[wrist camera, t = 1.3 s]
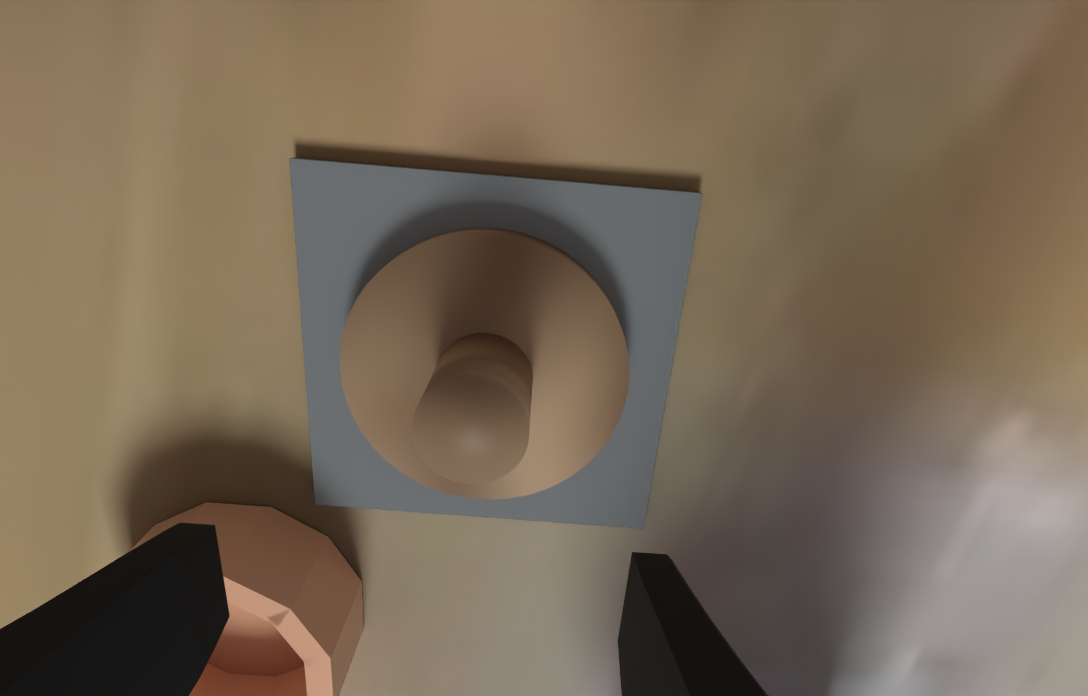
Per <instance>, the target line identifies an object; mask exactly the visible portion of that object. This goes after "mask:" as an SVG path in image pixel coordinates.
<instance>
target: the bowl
mask: <svg viewBox="0 0 1088 696" xmlns="http://www.w3.org/2000/svg"><path fill="white" fill-rule="evenodd" d="M178 523H194V524H209V525H215V528H216V534H217V540H218V546H219V553H220V559H221V565H222V571H223V577H224V584H225V590H226V596H227V602H228V609H229V615H230V617H229V619H228V621H227V623H226V625H225V627H224V630H223V632H222V634H221V636H220V638H219V640H218V643H217V645H216V647H215V649H214V651H213V653H212V655H211V657H210V659H209V661H208V663H207V665H206V667H205V669H204V671H203V673H202V675H201V677H200V679H199V680H198V682H197V683H196V685H195V687H194V688H193V690H192V692H191V693H190V695H189V696H339V693H340V691H341V688H342V685H343V683H344V680H345V677H346V674H347V672H348V669H349V666H350V664H351V661H352V658H353V655H354V653H355V650H356V647H357V645H358V642H359V639H360V636H361V634H362V631H363V628H364V621H363V597H362V581H361V580H360V578H359V577H358V576H357V574H356V573H355V572H354V570H353V569H352V568H351V566H350V565H349V564H348V562H347V561H346V560H345V558H344V557H343V556H342V554H341V553H340V552H339V550H338V549H337V547H336V546H335V545H334V543H333V542H332V541H331V539H330V538H329V537H328V536H326V535H324V534H322V533H320V532H318V531H316V530H314V529H313V528H311V527H309V526H307V525H305V524H303V523H301V522H299V521H297V520H295V519H293V518H291V517H290V516H288V515H286V514H284V513H282V512H280V511H278V510H276V509H274V508H272V507H265V506H252V505H238V504H224V503H210V502H206V503H204V504H201V505H199V506H197V507H194V508H192V509H190V510H188V511H185V512H183V513H181V514H178V515H176V516H174V517H172V518H169V519H167V520H165V521H162V522H160V523H158V524H155V525H154V526H153V527H152V528H151V529H150V530H149V531H148V532H147V533H146V535H145V536H144V537H143V538H142V539H141V540H140V541H139V542H138V543H137V544H136V545H135V546H134V547H133V548H132V549H131V550H133V549H135V548H136V547H138V546H140V545H141V544H143V543H145V542H146V541H148V540H150V539H151V538H153V537H155V536H156V535H158V534H160V533H162V532H163V531H165V530H167V529H169V528H170V527H172V526H174V525H176V524H178ZM131 550H130V551H131ZM130 551H129V552H130Z"/></svg>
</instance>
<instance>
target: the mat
mask: <svg viewBox="0 0 1088 696" xmlns="http://www.w3.org/2000/svg"><path fill="white" fill-rule="evenodd" d="M289 160H290V173H291V187H292V200H293V214H294V227H295V241H296V254H297V268H298V281H299V295H300V308H301V322H302V335H303V349H304V362H305V376H306V389H307V403H308V416H309V430H310V443H311V457H312V470H313V484H314V497H315V505H325V506H339V507H352V508H366V509H380V510H394V511H407V512H421V513H435V514H449V515H462V516H476V517H490V518H504V519H517V520H531V521H545V522H558V523H572V524H586V525H600V526H613V527H627V528H641V529H643V528H644V523H645V517H646V511H647V506H648V500H649V494H650V489H651V483H652V477H653V472H654V466H655V460H656V454H657V449H658V443H659V437H660V432H661V426H662V420H663V415H664V409H665V403H666V398H667V392H668V386H669V380H670V375H671V369H672V363H673V358H674V352H675V346H676V341H677V335H678V329H679V323H680V318H681V312H682V306H683V301H684V295H685V289H686V284H687V278H688V272H689V267H690V261H691V255H692V249H693V244H694V238H695V232H696V227H697V221H698V215H699V210H700V204H701V198H702V193H700V192H692V191H681V190H669V189H657V188H646V187H634V186H622V185H610V184H599V183H587V182H575V181H564V180H552V179H540V178H529V177H517V176H505V175H493V174H482V173H470V172H458V171H447V170H435V169H423V168H412V167H400V166H388V165H376V164H365V163H353V162H341V161H330V160H318V159H306V158H289ZM467 228H498V229H505V230H512V231H516V232H520V233H523V234H527V235H530V236H534V237H536V238H538V239H541V240H543V241H545V242H548V243H550V244H552V245H553V246H555V247H557V248H558V249H560V250H562V251H563V252H565V253H567V254H568V255H569V256H571V257H572V258H573V259H575V260H576V261H577V262H578V263H580V264H581V265H582V266H583V267H584V268H585V269H586V270H587V271H588V272H589V273H590V274H591V275H592V276H593V277H594V278H595V279H596V281H597V282H598V284H599V285H600V286H601V288H602V289H603V290H604V292H605V293H606V295H607V297H608V298H609V300H610V302H611V304H612V306H613V308H614V310H615V312H616V315H617V318H618V320H619V323H620V326H621V328H622V331H623V334H624V337H625V341H626V346H627V351H628V358H629V371H630V372H629V386H628V393H627V397H626V402H625V406H624V409H623V412H622V414H621V417H620V420H619V422H618V424H617V426H616V428H615V430H614V431H613V433H612V435H611V437H610V438H609V440H608V441H607V442H606V444H605V445H604V447H603V448H602V449H601V451H600V452H599V453H598V454H597V455H596V456H595V457H594V458H593V459H592V460H591V461H590V462H589V463H588V464H587V465H585V466H584V467H583V468H582V469H580V470H579V471H578V472H577V473H575V474H574V475H572V476H571V477H569V478H567V479H566V480H564V481H563V482H561V483H558V484H556V485H554V486H552V487H550V488H548V489H545V490H542V491H539V492H536V493H533V494H530V495H525V496H520V497H516V498H508V499H497V500H493V499H473V498H465V497H459V496H455V495H451V494H447V493H443V492H441V491H438V490H435V489H432V488H429V487H427V486H425V485H423V484H421V483H419V482H417V481H415V480H413V479H411V478H410V477H408V476H407V475H405V474H403V473H402V472H400V471H399V470H397V469H396V468H395V467H394V466H392V465H391V464H390V463H389V462H387V461H386V460H385V459H384V458H383V457H382V456H381V455H380V454H379V453H378V452H377V451H376V450H375V449H374V448H373V447H372V446H371V444H370V443H369V442H368V440H367V439H366V438H365V436H364V435H363V434H362V432H361V431H360V429H359V427H358V425H357V424H356V422H355V420H354V418H353V416H352V414H351V412H350V409H349V407H348V404H347V402H346V399H345V395H344V391H343V387H342V382H341V374H340V347H341V341H342V335H343V330H344V327H345V324H346V321H347V318H348V315H349V313H350V311H351V309H352V307H353V305H354V303H355V301H356V299H357V298H358V296H359V295H360V293H361V292H362V290H363V289H364V287H365V286H366V285H367V283H368V282H369V281H370V280H371V279H372V278H373V277H374V276H375V275H376V274H377V273H378V272H379V271H380V270H381V269H382V268H383V267H384V266H385V265H387V264H388V263H389V262H390V261H392V260H393V259H394V258H395V257H397V256H398V255H399V254H400V253H402V252H403V251H405V250H406V249H408V248H410V247H411V246H413V245H415V244H417V243H418V242H420V241H423V240H425V239H428V238H430V237H432V236H435V235H438V234H442V233H445V232H449V231H453V230H459V229H467Z"/></svg>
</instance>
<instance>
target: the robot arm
mask: <svg viewBox="0 0 1088 696" xmlns="http://www.w3.org/2000/svg"><path fill="white" fill-rule="evenodd" d="M229 617H230V615H229V609H228V602H227V596H226V590H225V584H224V577H223V571H222V565H221V559H220V553H219V546H218V540H217V534H216V528H215V525H209V524H194V523H178V524H176V525H174V526H172V527H170V528H169V529H167V530H165V531H163V532H162V533H160V534H158V535H156V536H155V537H153V538H151V539H150V540H148V541H146V542H145V543H143V544H141V545H140V546H138V547H136V548H135V549H133V550H131V551H130V552H128V553H127V554H125V555H123V556H122V557H120V558H118V559H117V560H115V561H114V562H112V563H110V564H109V565H107V566H105V567H104V568H102V569H101V570H99V571H97V572H96V573H94V574H92V575H91V576H89V577H87V578H86V579H84V580H82V581H81V582H79V583H78V584H76V585H74V586H73V587H71V588H69V589H68V590H66V591H64V592H63V593H61V594H59V595H58V596H56V597H54V598H53V599H51V600H50V601H48V602H46V603H45V604H43V605H41V606H40V607H38V608H36V609H35V610H33V611H31V612H29V613H28V614H26V615H24V616H22V617H21V618H19V619H17V620H15V621H14V622H12V623H10V624H8V625H7V626H5V627H3V628H1V629H0V696H189V695H190V693H191V692H192V690H193V688H194V687H195V685H196V683H197V682H198V680H199V679H200V677H201V675H202V673H203V671H204V669H205V667H206V665H207V663H208V661H209V659H210V657H211V655H212V653H213V651H214V649H215V647H216V645H217V643H218V640H219V638H220V636H221V634H222V632H223V630H224V627H225V625H226V623H227V621H228V619H229ZM618 648H619V663H620V677H621V689H622V696H768V695H767V694H766V692H765V691H764V690H763V689H762V688H761V686H760V685H759V684H758V682H757V681H756V680H755V678H754V677H753V676H752V675H751V673H750V672H749V671H748V669H747V668H746V667H745V665H744V664H743V663H742V661H741V660H740V659H739V657H738V656H737V655H736V653H735V652H734V651H733V649H732V648H731V646H730V645H729V644H728V642H727V641H726V640H725V638H724V637H723V636H722V634H721V633H720V631H719V630H718V629H717V627H716V626H715V624H714V623H713V622H712V620H711V619H710V617H709V616H708V614H707V613H706V611H705V610H704V608H703V607H702V605H701V604H700V603H699V601H698V600H697V598H696V597H695V595H694V594H693V592H692V591H691V589H690V587H689V586H688V584H687V583H686V581H685V580H684V578H683V577H682V575H681V574H680V572H679V570H678V569H677V567H676V566H675V564H674V563H673V561H672V560H671V559H670V557H669V556H668V555H667V554H652V553H636V552H632V556H631V562H630V569H629V575H628V581H627V587H626V594H625V600H624V606H623V612H622V618H621V625H620V631H619V637H618Z"/></svg>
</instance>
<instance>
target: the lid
mask: <svg viewBox="0 0 1088 696" xmlns="http://www.w3.org/2000/svg"><path fill="white" fill-rule="evenodd" d="M629 372H630V371H629V358H628V351H627V346H626V341H625V337H624V334H623V331H622V328H621V326H620V323H619V320H618V318H617V315H616V312H615V310H614V308H613V306H612V304H611V302H610V300H609V298H608V297H607V295H606V293H605V292H604V290H603V289H602V288H601V286H600V285H599V284H598V282H597V281H596V279H595V278H594V277H593V276H592V275H591V274H590V273H589V272H588V271H587V270H586V269H585V268H584V267H583V266H582V265H581V264H580V263H578V262H577V261H576V260H575V259H573V258H572V257H571V256H569V255H568V254H567V253H565V252H563V251H562V250H560V249H558V248H557V247H555V246H553V245H552V244H550V243H548V242H545V241H543V240H541V239H538V238H536V237H534V236H530V235H527V234H523V233H520V232H516V231H512V230H505V229H498V228H467V229H459V230H453V231H449V232H445V233H442V234H438V235H435V236H432V237H430V238H428V239H425V240H423V241H420V242H418V243H417V244H415V245H413V246H411V247H410V248H408V249H406V250H405V251H403V252H402V253H400V254H399V255H398V256H397V257H395V258H394V259H393V260H392V261H390V262H389V263H388V264H387V265H385V266H384V267H383V268H382V269H381V270H380V271H379V272H378V273H377V274H376V275H375V276H374V277H373V278H372V279H371V280H370V281H369V282H368V283H367V285H366V286H365V287H364V289H363V290H362V292H361V293H360V295H359V296H358V298H357V299H356V301H355V303H354V305H353V307H352V309H351V311H350V313H349V315H348V318H347V321H346V324H345V327H344V330H343V335H342V341H341V347H340V374H341V382H342V387H343V391H344V395H345V399H346V402H347V404H348V407H349V409H350V412H351V414H352V416H353V418H354V420H355V422H356V424H357V425H358V427H359V429H360V431H361V432H362V434H363V435H364V436H365V438H366V439H367V440H368V442H369V443H370V444H371V446H372V447H373V448H374V449H375V450H376V451H377V452H378V453H379V454H380V455H381V456H382V457H383V458H384V459H385V460H386V461H387V462H389V463H390V464H391V465H392V466H394V467H395V468H396V469H397V470H399V471H400V472H402V473H403V474H405V475H407V476H408V477H410V478H411V479H413V480H415V481H417V482H419V483H421V484H423V485H425V486H427V487H429V488H432V489H435V490H438V491H441V492H443V493H447V494H451V495H455V496H459V497H465V498H473V499H493V500H497V499H508V498H516V497H520V496H525V495H530V494H533V493H536V492H539V491H542V490H545V489H548V488H550V487H552V486H554V485H556V484H558V483H561V482H563V481H564V480H566V479H567V478H569V477H571V476H572V475H574V474H575V473H577V472H578V471H579V470H580V469H582V468H583V467H584V466H585V465H587V464H588V463H589V462H590V461H591V460H592V459H593V458H594V457H595V456H596V455H597V454H598V453H599V452H600V451H601V449H602V448H603V447H604V445H605V444H606V442H607V441H608V440H609V438H610V437H611V435H612V433H613V431H614V430H615V428H616V426H617V424H618V422H619V420H620V417H621V414H622V412H623V409H624V406H625V402H626V397H627V393H628V386H629Z"/></svg>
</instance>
